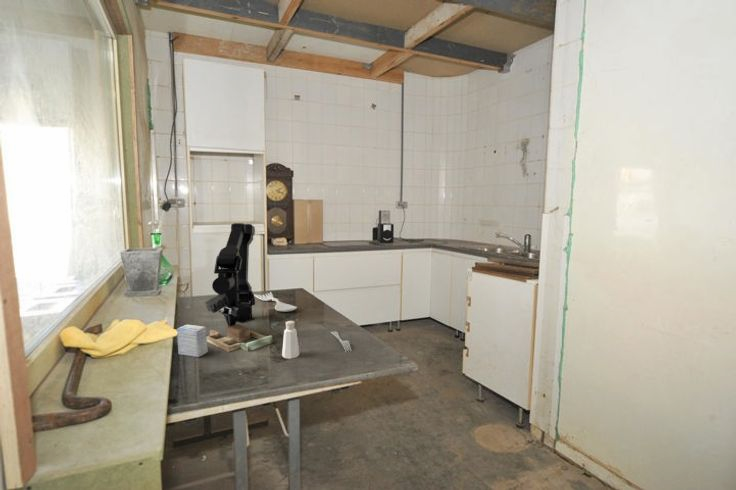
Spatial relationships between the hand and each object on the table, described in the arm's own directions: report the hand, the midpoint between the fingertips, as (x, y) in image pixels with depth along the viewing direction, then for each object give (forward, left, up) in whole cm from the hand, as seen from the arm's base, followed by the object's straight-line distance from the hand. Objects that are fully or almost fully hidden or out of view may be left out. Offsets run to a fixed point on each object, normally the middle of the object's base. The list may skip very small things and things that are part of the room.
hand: (231, 329), depth 139 cm
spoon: (-34, -19, -3) cm, 39 cm away
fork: (-21, +34, -3) cm, 40 cm away
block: (0, +5, -2) cm, 5 cm away
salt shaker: (-2, +31, -2) cm, 31 cm away
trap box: (+2, +6, -2) cm, 6 cm away
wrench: (-14, +10, -3) cm, 17 cm away
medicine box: (+17, +6, -2) cm, 18 cm away
